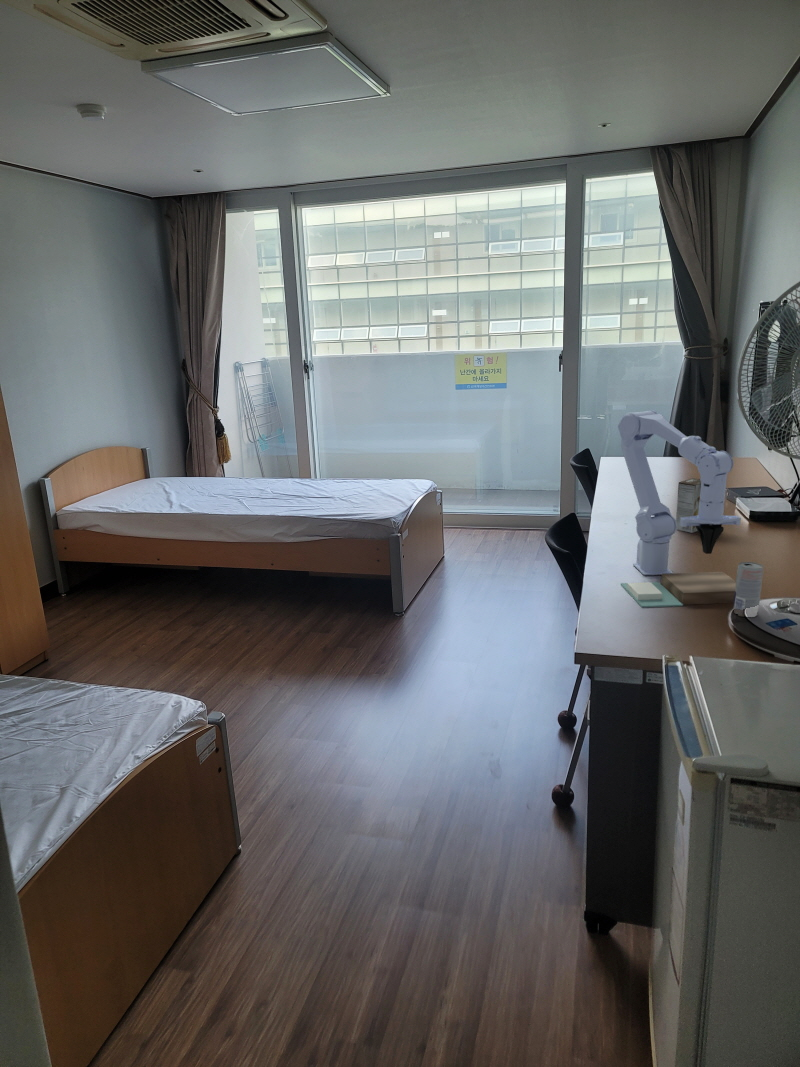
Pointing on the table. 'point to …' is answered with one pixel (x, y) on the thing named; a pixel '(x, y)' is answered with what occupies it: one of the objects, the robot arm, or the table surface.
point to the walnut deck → (700, 587)
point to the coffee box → (688, 502)
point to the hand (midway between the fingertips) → (707, 552)
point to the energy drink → (748, 585)
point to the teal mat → (666, 599)
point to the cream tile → (644, 591)
